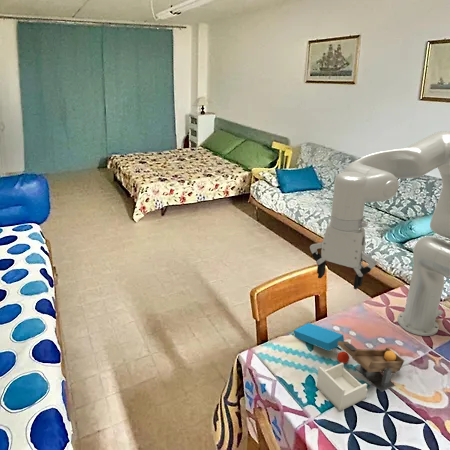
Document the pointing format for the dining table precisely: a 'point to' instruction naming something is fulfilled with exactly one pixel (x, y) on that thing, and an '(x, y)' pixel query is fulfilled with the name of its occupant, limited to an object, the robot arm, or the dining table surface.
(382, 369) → the brown shallow tray
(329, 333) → the lever
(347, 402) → the box
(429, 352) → the dining table surface
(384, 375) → the stand
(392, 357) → the ball
